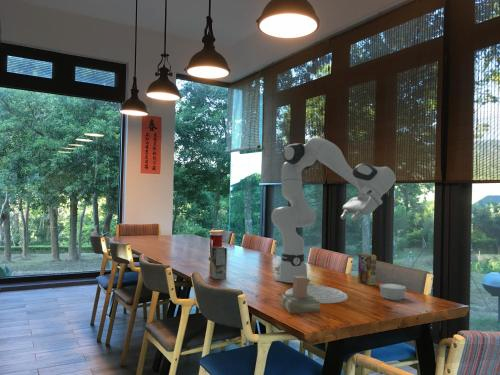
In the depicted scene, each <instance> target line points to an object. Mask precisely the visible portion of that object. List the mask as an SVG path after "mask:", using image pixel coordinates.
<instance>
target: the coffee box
mask: <svg viewBox="0 0 500 375" xmlns="http://www.w3.org/2000/svg"><path fill="white" fill-rule="evenodd" d="M209 251H210V254H209V255H210V257H209V277H210V278H212V279H214V280H221V279H222V280H223V279H225V280H226V279H227V261H228V260H227V259H228V258H227V257H228V256H227V255H228V248H226V247H224V246H219V245H218V246H216V245H215V246H210V250H209Z"/></svg>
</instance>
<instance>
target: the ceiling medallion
mask: <svg viewBox="0 0 500 375" xmlns="http://www.w3.org/2000/svg"><path fill="white" fill-rule="evenodd" d="M284 294H293V287H291V288H289V289H286V290H285V293H284ZM307 294H310V295H311V296H313V297H314V298H316V299H317V300H319V301H320V304H335V303H337V304H338V303H342V302H345V301H347V300H348V299H349V296H348V294H346V293H345V292H344V291H342V290H340V289H337V288H334V287H330V286H327V285H308V284H307Z"/></svg>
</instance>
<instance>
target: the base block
mask: <svg viewBox="0 0 500 375" xmlns="http://www.w3.org/2000/svg"><path fill="white" fill-rule="evenodd" d="M280 305H281V306H282V307H283V308H284V309H285V310H286V311H287V312H288V313H290V314H291V313H292V314H293V313H294V314H298V313H317V312H320V305H321V303H320V301H319V300H317V299H316V298H314V297H313V296H311V295H310V294H307V298H299V299H296V298H295V297H294V296H293V294H285V293H284V294H280Z"/></svg>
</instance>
